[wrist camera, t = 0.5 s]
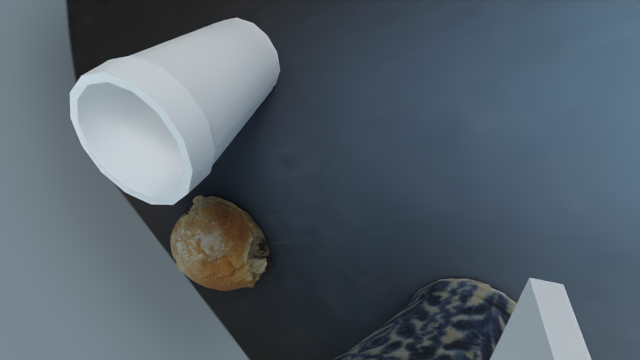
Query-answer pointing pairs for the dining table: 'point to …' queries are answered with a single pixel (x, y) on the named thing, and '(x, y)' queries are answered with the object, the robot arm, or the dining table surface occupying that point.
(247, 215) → the bread roll
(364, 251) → the dining table surface
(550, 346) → the robot arm
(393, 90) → the dining table surface
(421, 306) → the jug
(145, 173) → the foam cup
